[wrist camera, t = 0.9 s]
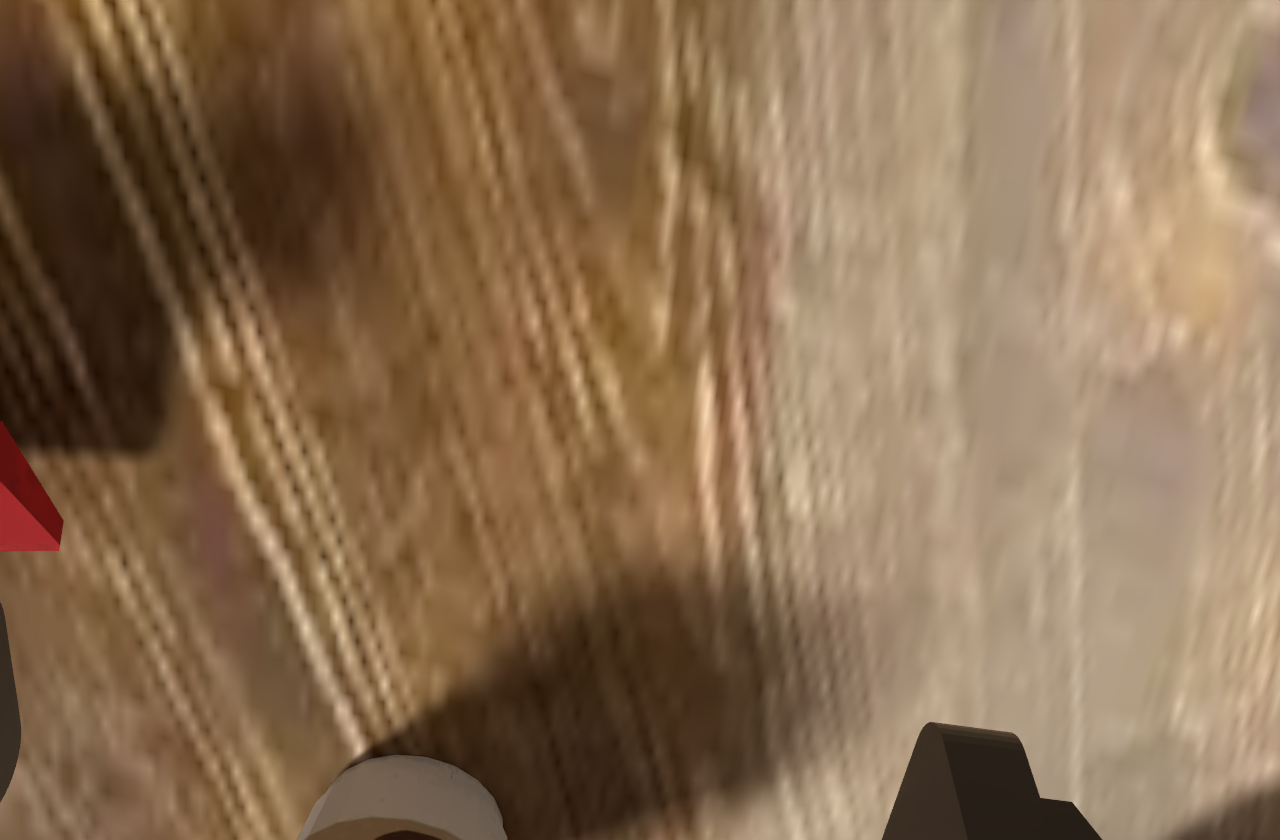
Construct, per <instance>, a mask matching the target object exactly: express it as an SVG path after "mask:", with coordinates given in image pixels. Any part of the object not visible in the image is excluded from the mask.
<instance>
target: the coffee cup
mask: <svg viewBox="0 0 1280 840" xmlns="http://www.w3.org/2000/svg"><path fill="white" fill-rule="evenodd" d="M297 840H507V836H506V833H505V831H504V829H503V818H502V815H501V813H500V811H499V808H498V806H497V803H496V801H495V799H494V797H493V796H492V795H491V794H490V793H489V792H488V791H487V789H486V788H485V787H484V786H483V785H482V784H481V783H480V782H479V781H478V780H477V779H476V778H474V777H472V776H471V775H469V774H467V773H466V772H464V771H462V770H461V769H459V768H457V767H456V766H454V765H451V764H448V763H445V762H441V761H438V760H435V759H432V758H428V757H424V756H410V755H390V756H384V757H379V758H373V759H368V760H366V761H364V762H361V763H359V764H357V765H355V766H353V767H351V768H349V769H347V770H345V771H344V772H343V773H342V774H341V775H340V776H339V777H338V778H337V779H336V780H335V781H334V782H333V783H332V784H331V785H330V786H329V788H328V790H327V792H326V793H325V794H324V795H323V796H322V797H321V798H320V799H319V800H318V801H317V802H316V803H315V805H314V807H313V809H312V811H311V813H310V815H309V817H308V819H307V821H306V822H305V824H304V826H303V828H302V830H301V832H300V834H299V836H298V838H297Z"/></svg>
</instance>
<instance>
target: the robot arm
mask: <svg viewBox="0 0 1280 840" xmlns="http://www.w3.org/2000/svg"><path fill="white" fill-rule="evenodd" d="M20 741H21V722H20V715H19V708H18V702H17V695H16V688H15V682H14V675H13V668H12V662H11V655H10V648H9V642H8V635H7V628H6V622H5V616H4V611H3V608H2V605H1V603H0V802H1V800H2V799H3V797H4V795H5V793H6V791H7V789H8V787H9V784H10V782H11V779H12V776H13V773H14V770H15V767H16V763H17V759H18V755H19V749H20ZM882 840H1102V839H1101V838H1100V836H1099V835H1098V834H1097V833H1096V831H1095V830H1094V829H1093V828H1092V826H1091V825H1090V824H1089V823H1088V821H1087V820H1086V819H1085V818H1084V816H1083V815H1082V814H1081V813H1080V811H1079V810H1078V809H1077V808H1076V806H1075V805H1074V804H1073V803H1072V802H1067V801H1059V800H1052V799H1044V798H1040V796H1039V793H1038V790H1037V787H1036V784H1035V781H1034V778H1033V775H1032V772H1031V769H1030V766H1029V762H1028V759H1027V756H1026V753H1025V750H1024V748H1023V745H1022V743H1021V741H1020V740H1019V738H1018V737H1017V736H1016V735H1015V734H1013V733H1010V732H1003V731H995V730H987V729H980V728H972V727H965V726H957V725H950V724H942V723H934V722H929V723H927V724H926V725H925V726H924V727H923V729H922V730H921V732H920V734H919V737H918V739H917V742H916V745H915V748H914V750H913V753H912V756H911V759H910V762H909V764H908V767H907V770H906V773H905V776H904V778H903V781H902V784H901V787H900V790H899V792H898V795H897V798H896V801H895V804H894V806H893V809H892V812H891V815H890V818H889V821H888V823H887V826H886V829H885V832H884V835H883V838H882Z"/></svg>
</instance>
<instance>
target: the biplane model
mask: <svg viewBox="0 0 1280 840" xmlns="http://www.w3.org/2000/svg"><path fill="white" fill-rule="evenodd" d="M62 528H63V519H62V517H61V516H60V514H59V513H58V511H57V509H56V508H55V506H54V504H53V503H52V501H51V500H50V498H49V496H48V495H47V493H46V492H45V490H44V488H43V487H42V485H41V483H40V482H39V480H38V479H37V477H36V475H35V474H34V472H33V471H32V469H31V467H30V466H29V464H28V462H27V461H26V459H25V458H24V456H23V454H22V453H21V451H20V449H19V448H18V446H17V445H16V443H15V441H14V440H13V438H12V437H11V435H10V433H9V432H8V430H7V428H6V427H5V425H4V424H3V422H2V421H0V551H59V547H60V541H61V535H62Z"/></svg>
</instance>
